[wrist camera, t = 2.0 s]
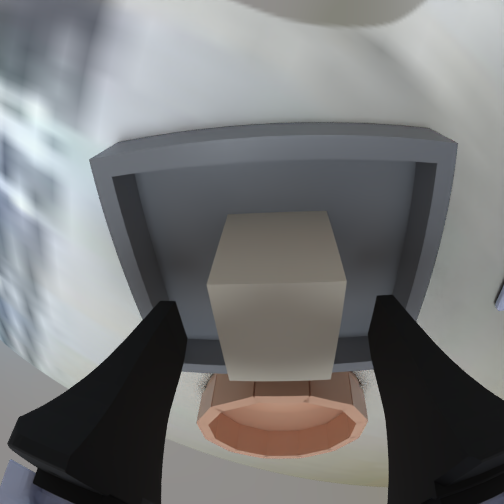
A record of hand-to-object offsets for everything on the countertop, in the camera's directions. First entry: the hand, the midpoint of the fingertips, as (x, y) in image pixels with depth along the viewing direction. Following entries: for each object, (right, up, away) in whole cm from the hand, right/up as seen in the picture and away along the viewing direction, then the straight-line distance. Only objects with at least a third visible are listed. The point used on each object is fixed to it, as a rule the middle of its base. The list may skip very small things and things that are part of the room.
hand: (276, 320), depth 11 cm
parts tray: (0, +2, +3) cm, 4 cm away
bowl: (+1, -9, +10) cm, 14 cm away
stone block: (0, +2, +3) cm, 4 cm away
